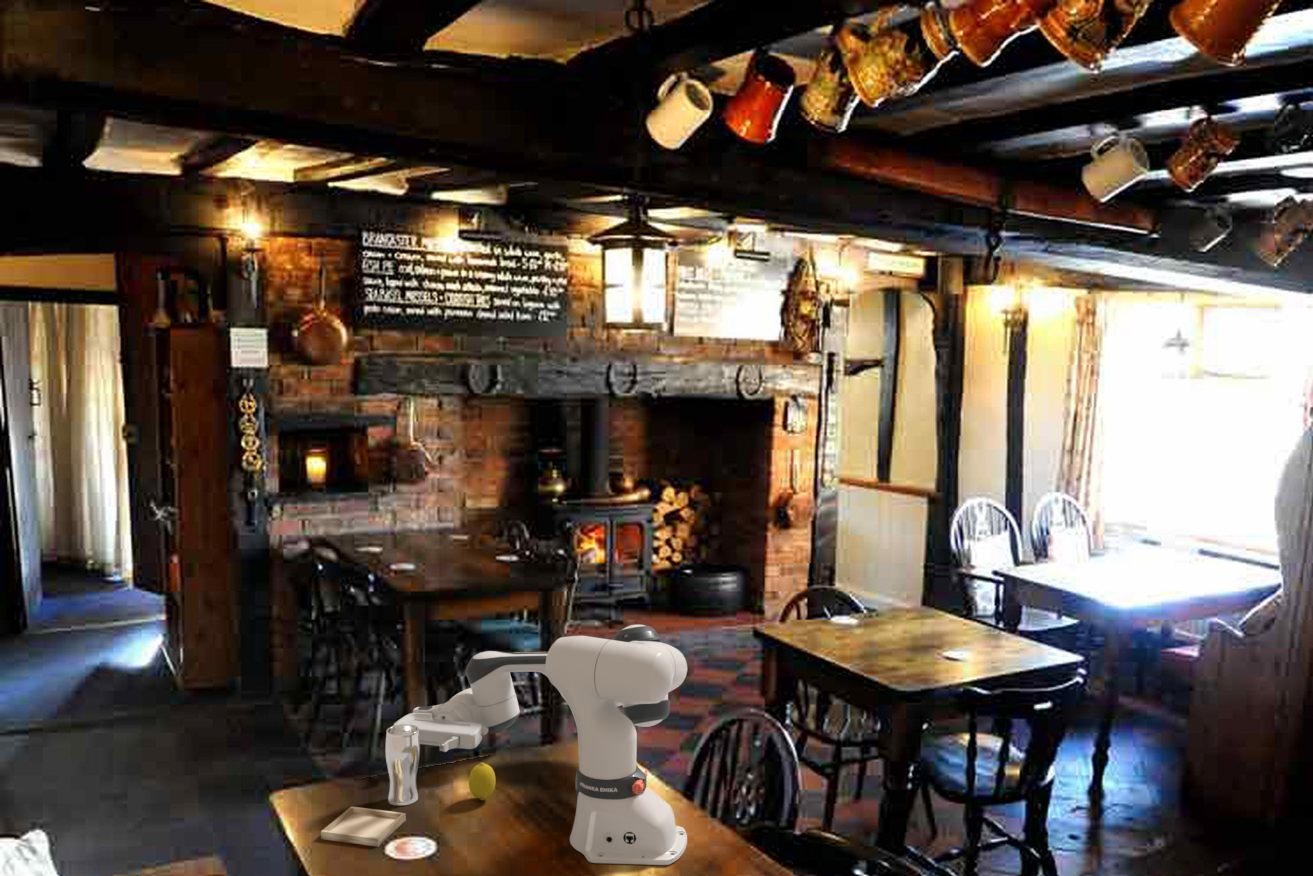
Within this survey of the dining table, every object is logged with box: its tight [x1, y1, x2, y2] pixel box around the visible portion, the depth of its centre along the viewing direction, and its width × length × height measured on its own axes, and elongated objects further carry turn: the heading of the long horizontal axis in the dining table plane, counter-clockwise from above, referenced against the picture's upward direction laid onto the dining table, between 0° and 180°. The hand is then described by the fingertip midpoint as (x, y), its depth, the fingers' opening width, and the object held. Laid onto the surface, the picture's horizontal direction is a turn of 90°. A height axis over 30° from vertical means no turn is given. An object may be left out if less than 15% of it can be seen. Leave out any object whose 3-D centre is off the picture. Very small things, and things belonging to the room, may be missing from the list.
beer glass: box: [385, 724, 421, 807], centre depth 205 cm, size 7×7×15 cm
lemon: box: [468, 762, 497, 801], centre depth 206 cm, size 6×6×8 cm
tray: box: [320, 805, 407, 848], centre depth 192 cm, size 12×11×2 cm
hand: (422, 746), depth 214 cm, fingers open, 8 cm apart
